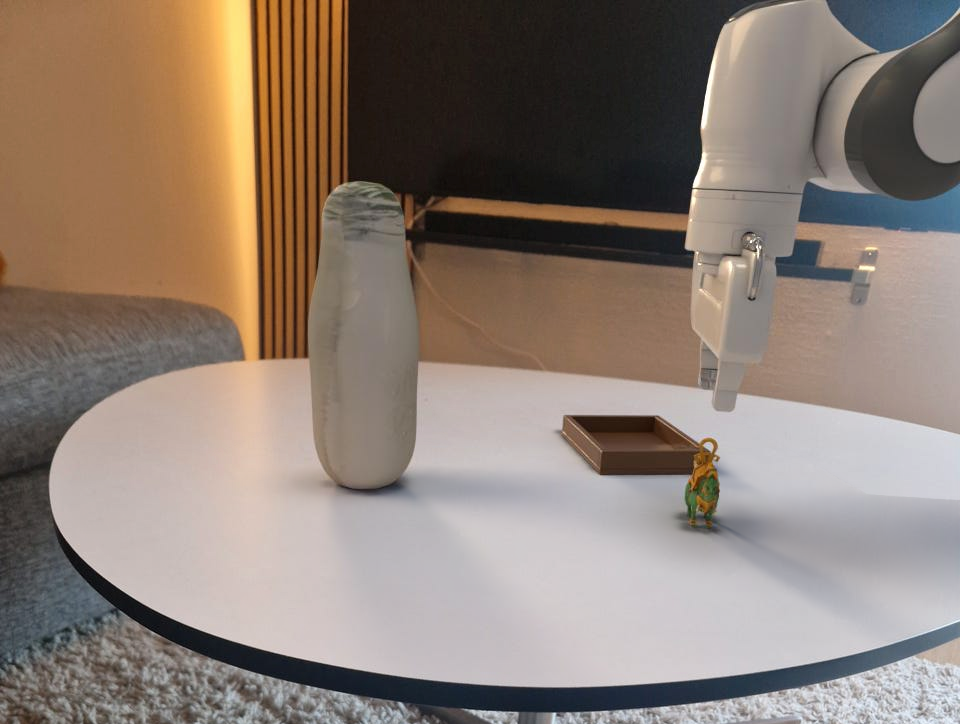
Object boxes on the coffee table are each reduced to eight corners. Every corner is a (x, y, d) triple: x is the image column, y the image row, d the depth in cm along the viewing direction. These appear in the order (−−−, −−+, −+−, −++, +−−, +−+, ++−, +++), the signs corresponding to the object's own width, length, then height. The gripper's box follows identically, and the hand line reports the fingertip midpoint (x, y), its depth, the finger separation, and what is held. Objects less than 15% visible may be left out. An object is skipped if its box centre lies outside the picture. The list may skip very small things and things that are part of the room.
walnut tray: (707, 473, 104) (710, 451, 103) (599, 474, 102) (601, 451, 101) (656, 435, 120) (658, 415, 119) (561, 435, 118) (563, 414, 117)
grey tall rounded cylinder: (393, 506, 89) (393, 182, 77) (298, 492, 92) (283, 177, 80) (430, 479, 98) (435, 184, 85) (341, 467, 100) (334, 180, 88)
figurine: (686, 543, 83) (699, 454, 79) (675, 503, 94) (687, 423, 90) (721, 546, 83) (735, 456, 79) (706, 505, 94) (719, 425, 90)
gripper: (807, 238, 68) (772, 427, 74) (757, 228, 86) (732, 380, 92) (720, 233, 68) (692, 422, 74) (689, 224, 86) (668, 376, 92)
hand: (714, 398), depth 83 cm, fingers open, 8 cm apart
